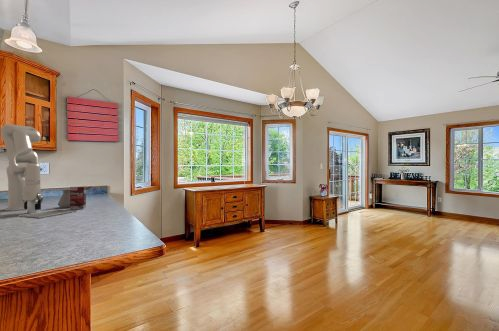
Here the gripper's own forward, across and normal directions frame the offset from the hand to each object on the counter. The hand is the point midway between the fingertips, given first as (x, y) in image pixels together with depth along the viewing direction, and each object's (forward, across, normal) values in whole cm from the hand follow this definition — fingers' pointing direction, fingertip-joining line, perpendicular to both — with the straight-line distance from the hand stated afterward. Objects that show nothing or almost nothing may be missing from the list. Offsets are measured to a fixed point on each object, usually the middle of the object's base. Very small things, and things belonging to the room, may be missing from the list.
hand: (32, 209), depth 159 cm
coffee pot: (+3, +3, +27) cm, 27 cm away
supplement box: (+3, +14, +20) cm, 25 cm away
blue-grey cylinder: (+2, 0, 0) cm, 2 cm away
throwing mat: (+2, +15, 0) cm, 15 cm away
